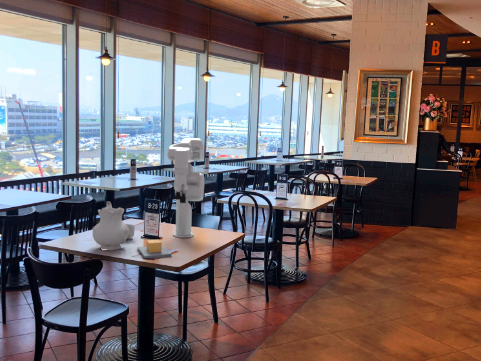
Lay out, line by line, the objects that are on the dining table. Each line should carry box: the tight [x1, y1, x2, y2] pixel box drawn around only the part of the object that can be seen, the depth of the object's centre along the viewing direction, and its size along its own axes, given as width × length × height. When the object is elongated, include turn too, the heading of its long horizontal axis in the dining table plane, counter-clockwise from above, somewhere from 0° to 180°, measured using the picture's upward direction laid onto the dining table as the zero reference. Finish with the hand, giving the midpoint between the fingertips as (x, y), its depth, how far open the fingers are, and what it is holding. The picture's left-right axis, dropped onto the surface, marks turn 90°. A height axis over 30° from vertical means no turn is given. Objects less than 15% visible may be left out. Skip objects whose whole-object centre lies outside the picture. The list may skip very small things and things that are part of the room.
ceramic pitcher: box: [92, 201, 129, 251], centre depth 259 cm, size 22×20×25 cm
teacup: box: [124, 223, 136, 241], centre depth 279 cm, size 14×11×8 cm
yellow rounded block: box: [146, 239, 163, 253], centre depth 251 cm, size 6×6×5 cm
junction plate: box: [136, 245, 172, 259], centre depth 251 cm, size 18×14×5 cm
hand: (180, 201), depth 266 cm, fingers open, 9 cm apart
